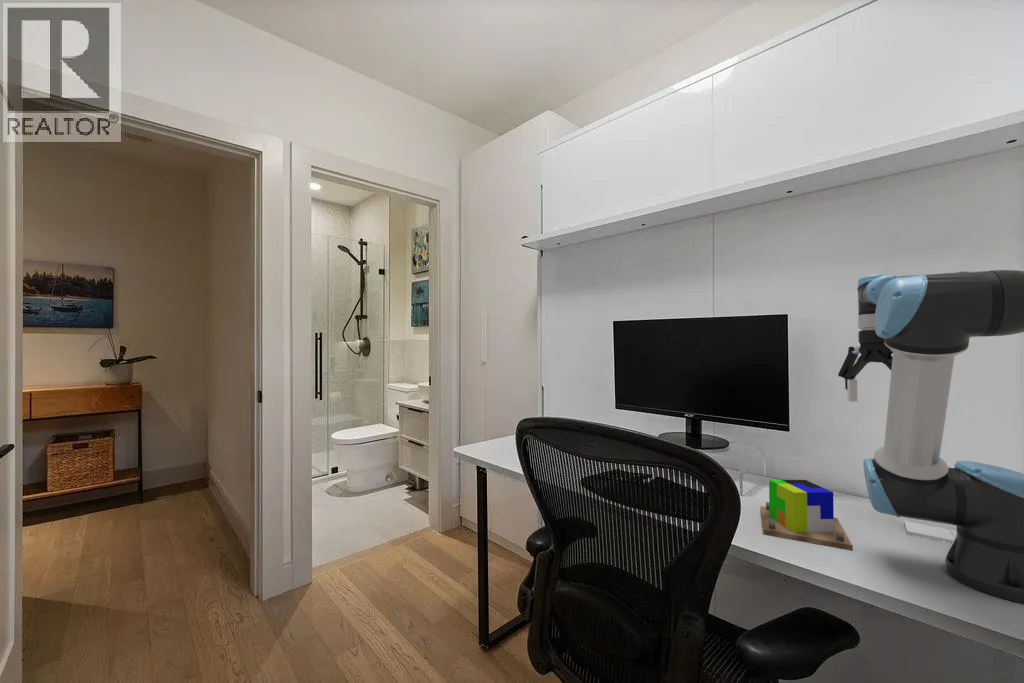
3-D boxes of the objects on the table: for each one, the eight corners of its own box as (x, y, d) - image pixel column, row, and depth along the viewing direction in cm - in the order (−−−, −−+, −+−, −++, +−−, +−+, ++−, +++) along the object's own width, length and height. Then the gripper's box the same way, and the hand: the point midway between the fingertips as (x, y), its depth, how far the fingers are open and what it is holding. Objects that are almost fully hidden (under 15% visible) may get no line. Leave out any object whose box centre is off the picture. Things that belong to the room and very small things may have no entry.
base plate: (837, 522, 114) (837, 511, 114) (852, 550, 98) (852, 537, 98) (760, 510, 123) (760, 499, 123) (763, 534, 107) (763, 522, 107)
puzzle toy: (833, 532, 105) (833, 492, 105) (794, 532, 105) (793, 492, 105) (805, 516, 115) (805, 479, 115) (769, 516, 115) (769, 479, 115)
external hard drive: (903, 526, 113) (971, 539, 105) (906, 536, 107) (978, 551, 99) (903, 520, 113) (971, 532, 105) (906, 530, 107) (978, 544, 99)
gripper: (938, 327, 108) (939, 410, 107) (843, 331, 132) (844, 398, 132) (915, 327, 106) (916, 410, 106) (823, 331, 131) (824, 399, 130)
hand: (876, 404), depth 119 cm, fingers open, 13 cm apart
